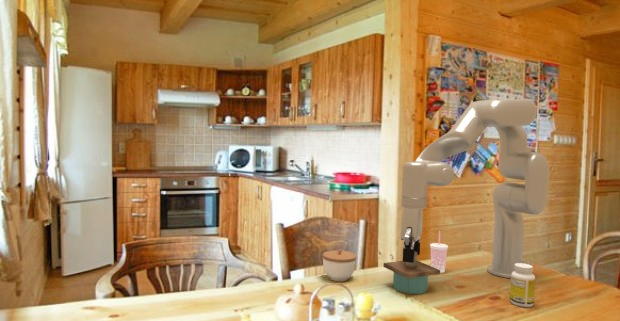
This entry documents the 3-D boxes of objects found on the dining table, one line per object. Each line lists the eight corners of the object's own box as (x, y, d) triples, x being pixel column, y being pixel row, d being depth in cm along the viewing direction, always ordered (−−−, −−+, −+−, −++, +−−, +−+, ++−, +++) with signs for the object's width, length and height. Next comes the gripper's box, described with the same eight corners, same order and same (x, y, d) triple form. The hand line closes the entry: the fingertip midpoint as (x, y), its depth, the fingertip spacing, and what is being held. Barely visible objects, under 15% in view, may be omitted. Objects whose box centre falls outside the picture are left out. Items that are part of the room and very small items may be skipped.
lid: (414, 263, 144) (414, 246, 144) (439, 274, 133) (440, 255, 133) (383, 266, 139) (384, 249, 139) (407, 278, 128) (408, 259, 128)
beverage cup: (449, 273, 152) (451, 233, 152) (430, 272, 153) (432, 232, 152) (444, 268, 158) (446, 229, 158) (427, 267, 159) (429, 228, 158)
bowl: (412, 281, 143) (413, 264, 143) (433, 291, 134) (434, 273, 134) (386, 284, 139) (387, 267, 138) (407, 295, 130) (408, 277, 130)
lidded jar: (331, 271, 151) (332, 243, 151) (360, 277, 146) (361, 248, 145) (316, 279, 142) (317, 250, 141) (346, 286, 136) (347, 256, 136)
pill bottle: (528, 300, 129) (530, 262, 129) (537, 308, 123) (539, 269, 122) (506, 298, 130) (508, 261, 129) (514, 306, 124) (516, 267, 123)
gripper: (407, 198, 144) (405, 250, 145) (395, 205, 129) (392, 263, 130) (431, 200, 141) (428, 253, 142) (421, 207, 126) (418, 267, 127)
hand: (411, 258), depth 136 cm, fingers open, 9 cm apart
